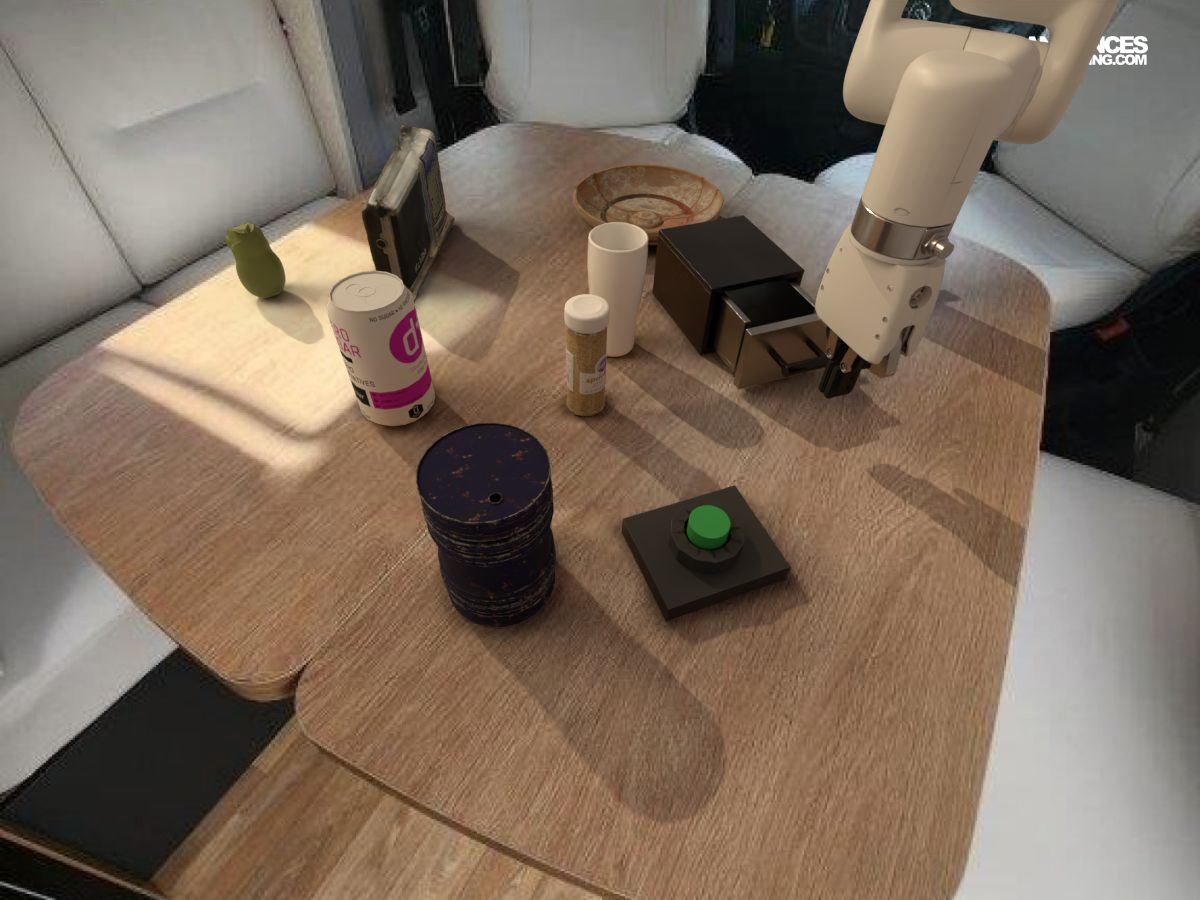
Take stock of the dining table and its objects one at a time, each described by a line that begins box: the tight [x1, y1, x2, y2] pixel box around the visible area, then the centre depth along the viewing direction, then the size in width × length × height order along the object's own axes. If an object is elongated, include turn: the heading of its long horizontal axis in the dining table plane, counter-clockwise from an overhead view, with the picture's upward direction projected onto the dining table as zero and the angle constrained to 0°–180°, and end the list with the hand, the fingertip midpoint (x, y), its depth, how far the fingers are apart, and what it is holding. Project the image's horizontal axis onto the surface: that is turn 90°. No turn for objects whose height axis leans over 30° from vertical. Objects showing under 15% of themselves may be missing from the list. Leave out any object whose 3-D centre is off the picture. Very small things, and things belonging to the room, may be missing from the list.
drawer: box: [708, 278, 829, 390], centre depth 75 cm, size 18×11×8 cm, turn 21°
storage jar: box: [415, 421, 557, 629], centre depth 51 cm, size 10×10×15 cm
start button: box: [687, 505, 731, 550], centre depth 55 cm, size 4×4×2 cm
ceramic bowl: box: [572, 163, 725, 246], centre depth 100 cm, size 23×24×5 cm
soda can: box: [326, 270, 436, 427], centre depth 66 cm, size 8×8×15 cm
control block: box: [621, 484, 792, 623], centre depth 57 cm, size 12×10×4 cm
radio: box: [361, 125, 456, 301], centre depth 87 cm, size 23×9×15 cm, turn 169°
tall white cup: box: [586, 222, 649, 358], centre depth 74 cm, size 7×7×15 cm
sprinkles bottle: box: [563, 293, 610, 417], centre depth 67 cm, size 5×5×13 cm
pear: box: [225, 221, 287, 299], centre depth 82 cm, size 6×5×10 cm
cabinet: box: [652, 214, 805, 356], centre depth 81 cm, size 15×13×10 cm
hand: (834, 391), depth 66 cm, fingers closed
